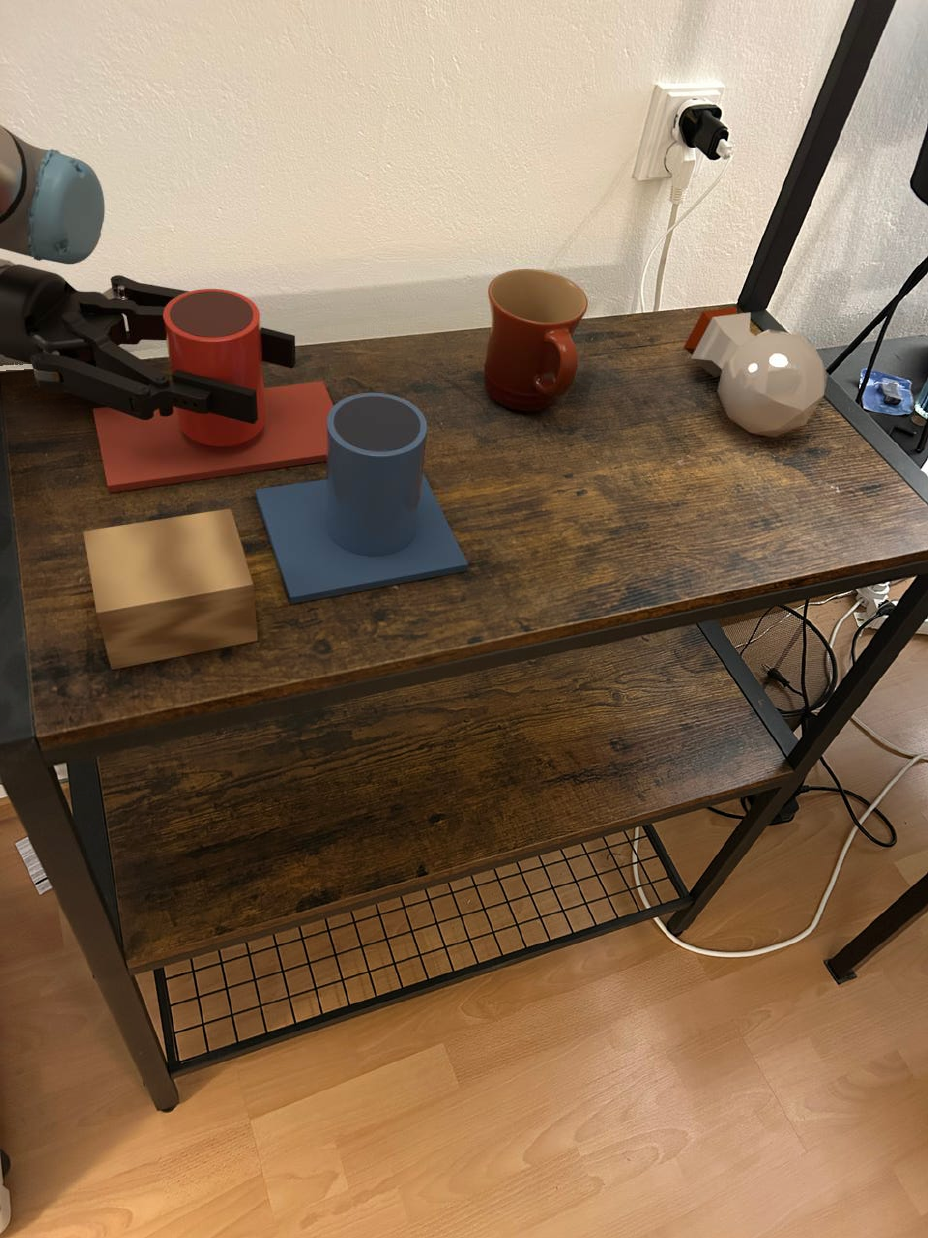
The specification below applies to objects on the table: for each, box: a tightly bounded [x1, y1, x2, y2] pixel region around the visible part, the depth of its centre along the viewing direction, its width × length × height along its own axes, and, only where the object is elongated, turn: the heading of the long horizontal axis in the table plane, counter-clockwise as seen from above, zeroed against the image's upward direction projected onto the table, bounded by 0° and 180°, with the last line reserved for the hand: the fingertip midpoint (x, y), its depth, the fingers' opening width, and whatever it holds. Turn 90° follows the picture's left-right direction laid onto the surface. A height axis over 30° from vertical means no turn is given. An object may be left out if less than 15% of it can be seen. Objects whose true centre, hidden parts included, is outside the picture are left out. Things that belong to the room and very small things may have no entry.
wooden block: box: [82, 508, 259, 671], centre depth 67 cm, size 10×8×6 cm
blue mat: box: [254, 472, 469, 605], centre depth 77 cm, size 14×12×1 cm
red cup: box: [163, 288, 266, 446], centre depth 78 cm, size 7×7×10 cm
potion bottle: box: [683, 306, 829, 438], centre depth 91 cm, size 9×10×15 cm
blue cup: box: [325, 392, 428, 556], centre depth 73 cm, size 7×7×10 cm
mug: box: [483, 268, 589, 412], centre depth 87 cm, size 12×9×10 cm
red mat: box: [92, 380, 335, 494], centre depth 83 cm, size 20×10×1 cm, turn 110°
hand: (274, 378), depth 77 cm, fingers closed on red cup, 7 cm apart
